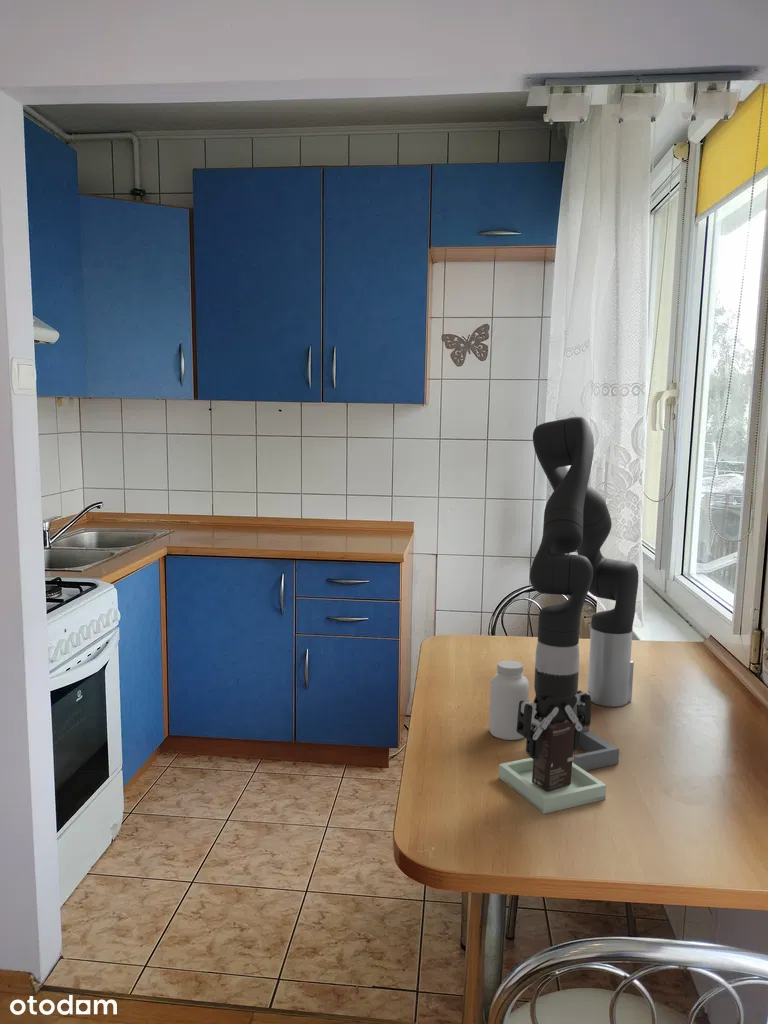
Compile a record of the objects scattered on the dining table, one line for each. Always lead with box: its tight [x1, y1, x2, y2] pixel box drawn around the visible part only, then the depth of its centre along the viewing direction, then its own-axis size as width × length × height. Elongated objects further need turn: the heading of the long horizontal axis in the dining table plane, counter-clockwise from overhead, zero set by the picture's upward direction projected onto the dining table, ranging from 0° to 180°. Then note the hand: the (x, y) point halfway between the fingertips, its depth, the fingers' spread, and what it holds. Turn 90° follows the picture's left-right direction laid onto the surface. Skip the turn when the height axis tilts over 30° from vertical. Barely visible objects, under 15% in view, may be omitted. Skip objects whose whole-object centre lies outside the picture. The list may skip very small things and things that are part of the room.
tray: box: [498, 757, 607, 815], centre depth 141 cm, size 13×14×3 cm
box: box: [532, 719, 576, 792], centre depth 141 cm, size 6×4×12 cm
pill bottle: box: [489, 660, 530, 741], centre depth 164 cm, size 8×8×15 cm
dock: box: [539, 704, 620, 772], centre depth 155 cm, size 10×13×10 cm
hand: (552, 753), depth 141 cm, fingers open, 8 cm apart
